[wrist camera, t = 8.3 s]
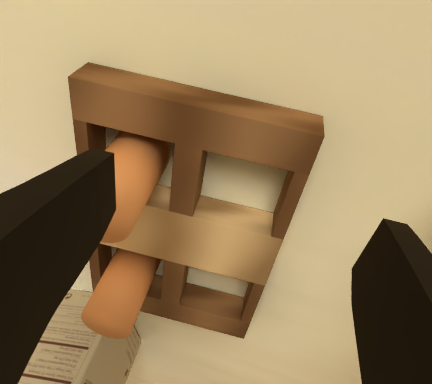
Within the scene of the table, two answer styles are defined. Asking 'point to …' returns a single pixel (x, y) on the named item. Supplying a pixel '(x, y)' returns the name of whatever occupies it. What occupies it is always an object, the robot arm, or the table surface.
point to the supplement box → (79, 350)
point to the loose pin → (134, 179)
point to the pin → (120, 294)
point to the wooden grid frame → (198, 187)
